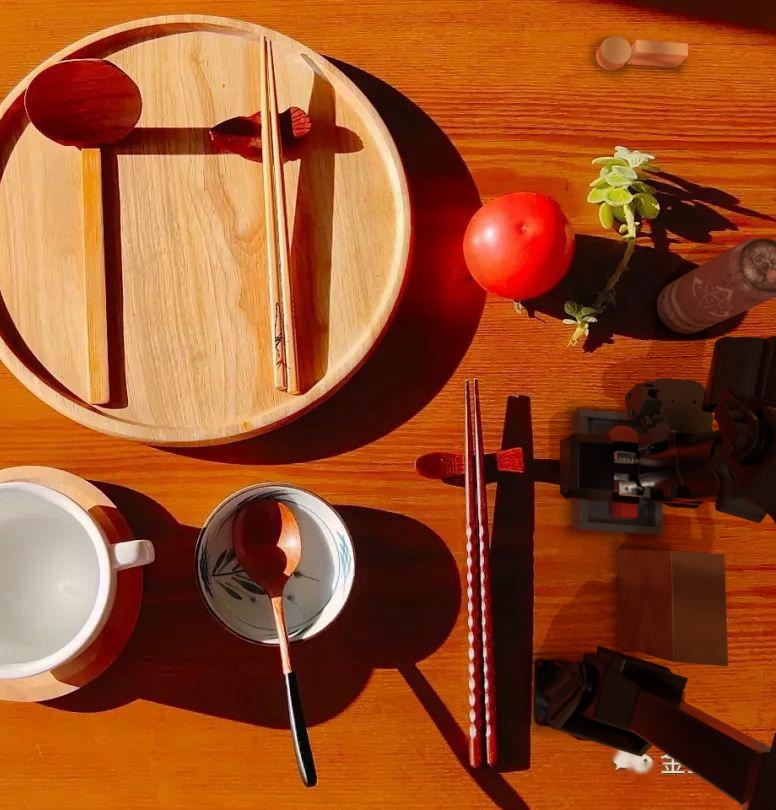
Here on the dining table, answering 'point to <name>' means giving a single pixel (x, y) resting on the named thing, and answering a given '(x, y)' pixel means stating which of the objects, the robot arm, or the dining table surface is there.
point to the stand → (673, 605)
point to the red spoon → (631, 436)
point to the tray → (599, 512)
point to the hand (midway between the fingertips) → (618, 479)
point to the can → (720, 287)
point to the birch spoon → (640, 53)
